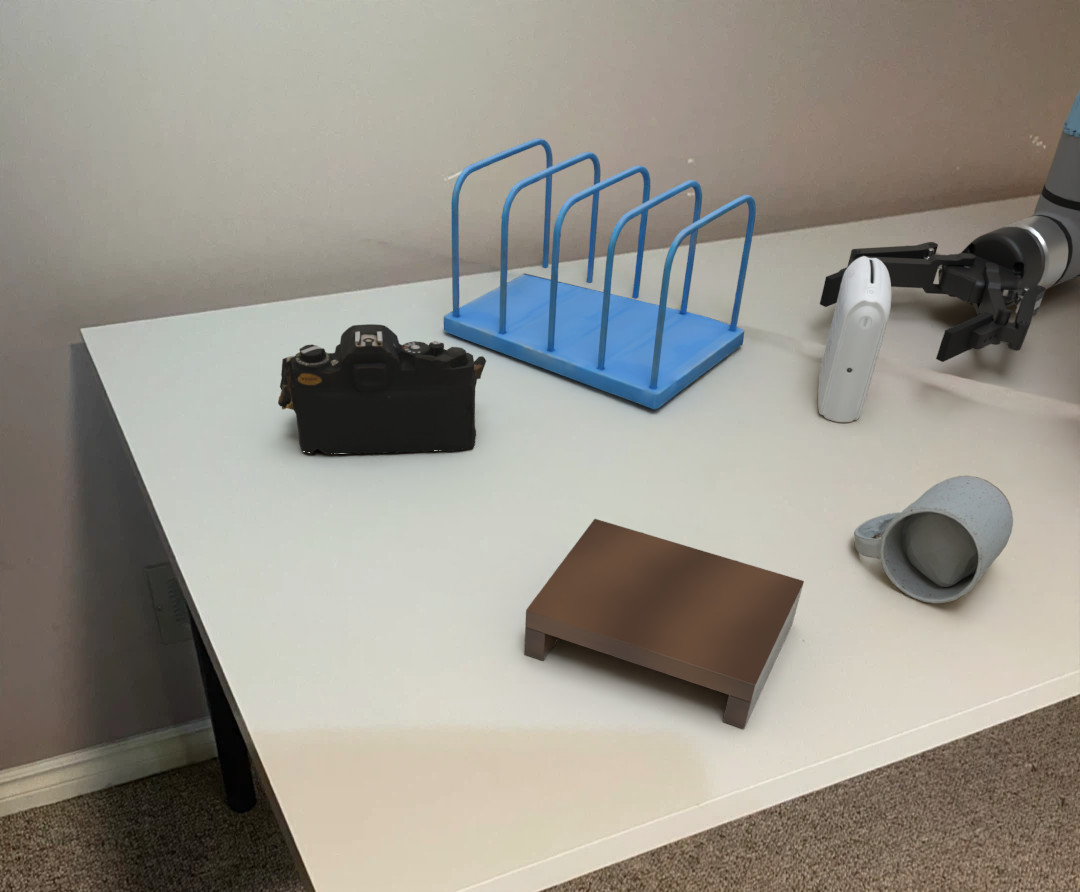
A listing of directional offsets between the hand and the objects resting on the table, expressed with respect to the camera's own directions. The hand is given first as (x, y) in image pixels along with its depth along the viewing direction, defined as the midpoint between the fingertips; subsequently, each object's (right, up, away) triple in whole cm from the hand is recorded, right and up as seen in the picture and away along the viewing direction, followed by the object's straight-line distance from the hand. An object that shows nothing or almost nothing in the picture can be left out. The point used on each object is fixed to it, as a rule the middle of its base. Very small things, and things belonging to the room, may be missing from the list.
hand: (882, 318), depth 100 cm
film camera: (-46, -12, -5) cm, 48 cm away
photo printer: (-3, -7, +3) cm, 8 cm away
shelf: (-23, -32, -23) cm, 46 cm away
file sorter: (-26, +1, +9) cm, 28 cm away
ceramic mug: (-2, -26, -16) cm, 30 cm away
